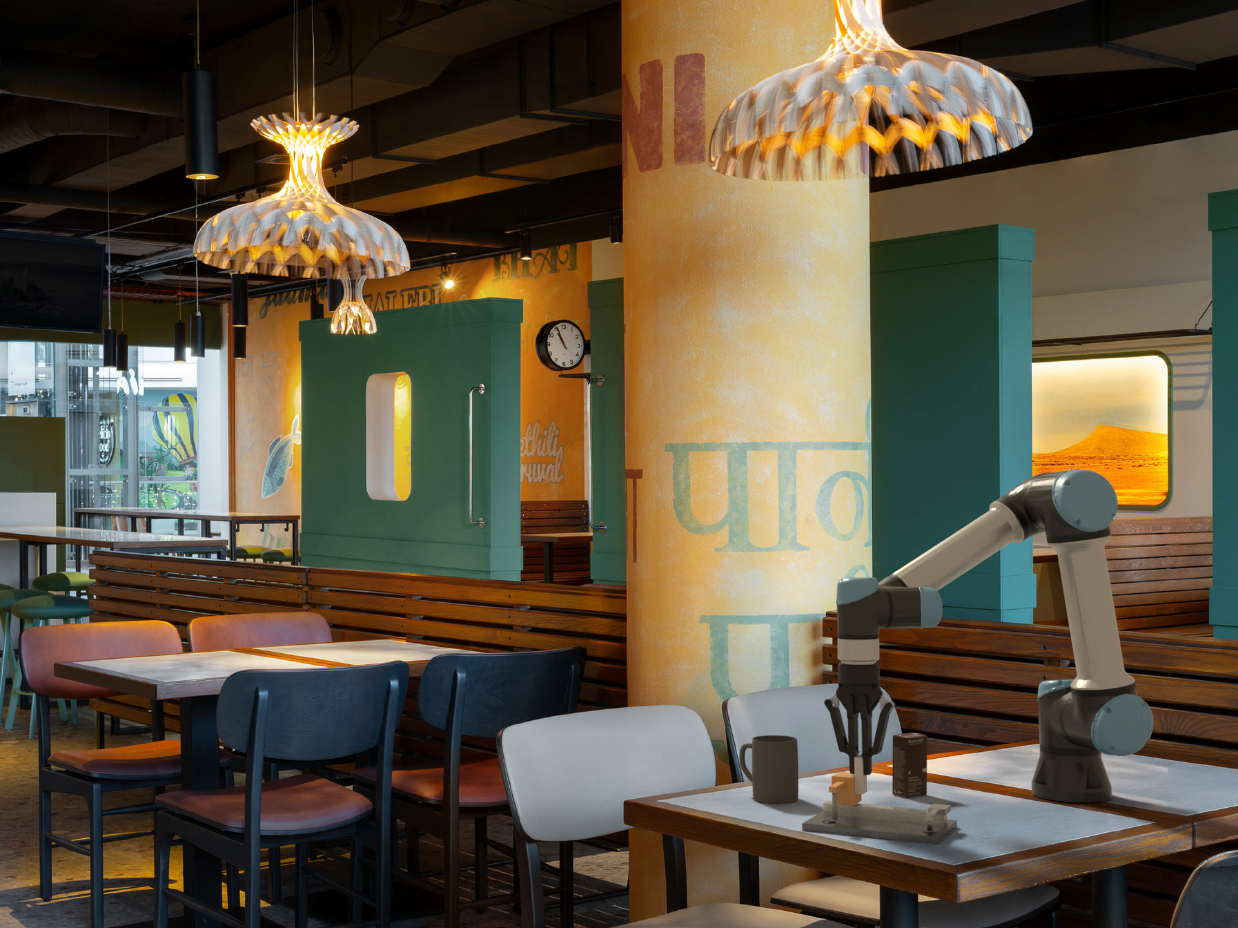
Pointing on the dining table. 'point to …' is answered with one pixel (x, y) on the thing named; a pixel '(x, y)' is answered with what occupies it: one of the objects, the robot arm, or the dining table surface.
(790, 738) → the mug
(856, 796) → the jaw
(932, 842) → the plate
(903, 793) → the box
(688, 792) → the dining table surface
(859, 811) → the beam
